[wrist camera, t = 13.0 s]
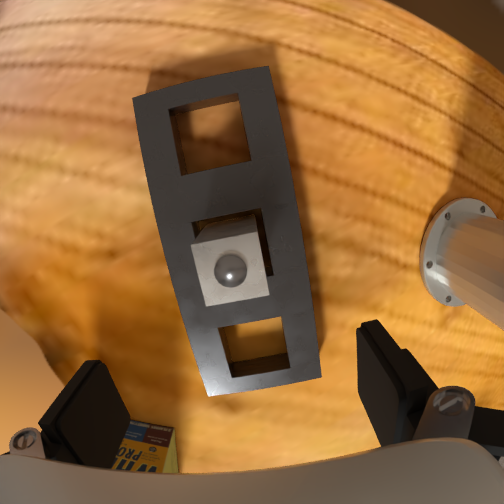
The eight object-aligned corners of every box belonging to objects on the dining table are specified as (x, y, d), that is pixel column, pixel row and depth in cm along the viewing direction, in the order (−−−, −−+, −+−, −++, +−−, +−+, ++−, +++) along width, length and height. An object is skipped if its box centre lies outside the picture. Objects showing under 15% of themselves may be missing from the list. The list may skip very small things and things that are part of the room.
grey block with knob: (254, 214, 30) (257, 232, 21) (263, 260, 31) (269, 296, 22) (207, 223, 30) (189, 246, 21) (217, 269, 31) (205, 308, 22)
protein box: (175, 426, 36) (151, 522, 21) (180, 485, 40) (167, 562, 25) (101, 411, 36) (58, 494, 21) (119, 473, 39) (95, 544, 24)
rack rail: (266, 75, 26) (268, 65, 24) (316, 361, 34) (321, 377, 31) (142, 104, 27) (132, 98, 24) (211, 380, 34) (208, 396, 31)
